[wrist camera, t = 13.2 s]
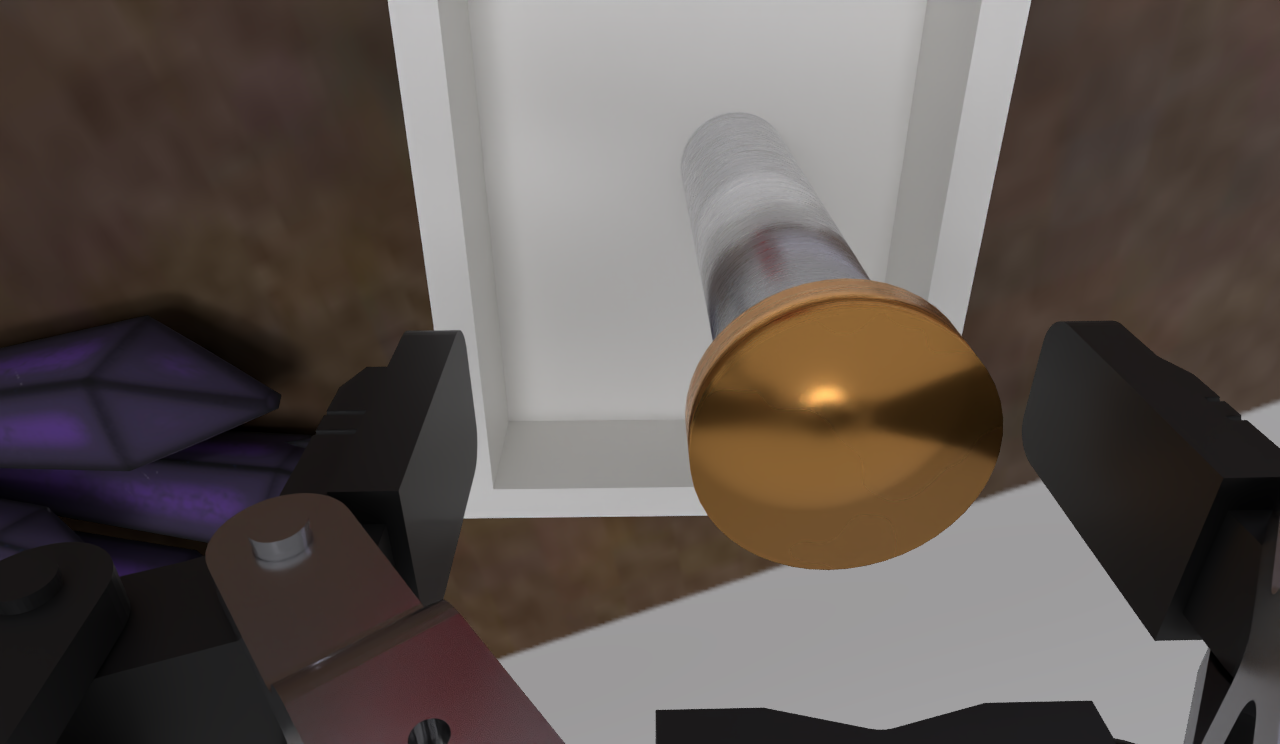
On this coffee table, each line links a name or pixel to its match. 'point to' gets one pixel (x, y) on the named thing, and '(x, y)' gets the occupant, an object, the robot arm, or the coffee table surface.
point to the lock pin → (819, 374)
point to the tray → (667, 200)
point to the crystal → (131, 441)
